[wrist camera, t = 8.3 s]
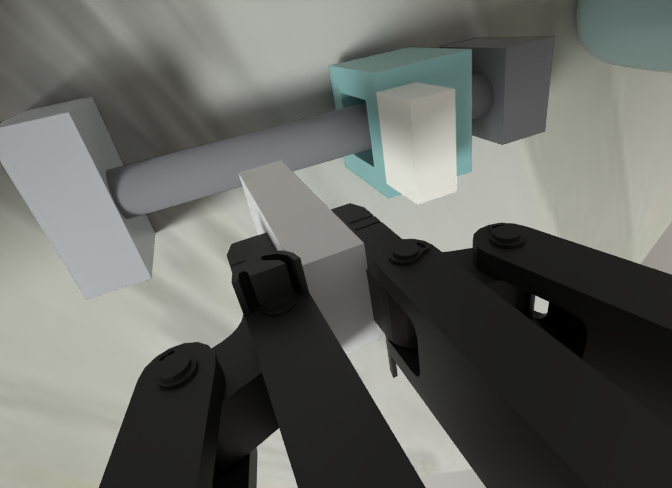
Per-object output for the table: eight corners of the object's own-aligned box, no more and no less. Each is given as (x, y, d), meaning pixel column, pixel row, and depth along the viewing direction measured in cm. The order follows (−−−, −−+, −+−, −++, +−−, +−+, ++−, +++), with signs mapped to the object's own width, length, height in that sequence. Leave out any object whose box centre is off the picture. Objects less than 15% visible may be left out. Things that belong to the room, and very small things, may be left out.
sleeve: (345, 167, 25) (418, 220, 18) (328, 65, 22) (408, 78, 15) (414, 146, 26) (511, 188, 19) (407, 47, 23) (519, 50, 16)
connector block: (442, 125, 28) (502, 144, 23) (439, 46, 25) (506, 48, 20) (478, 115, 28) (545, 131, 23) (479, 37, 26) (554, 36, 21)
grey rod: (111, 215, 20) (104, 236, 18) (87, 166, 19) (76, 183, 17) (466, 114, 25) (494, 121, 23) (466, 69, 23) (496, 72, 21)
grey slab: (102, 249, 23) (86, 299, 19) (26, 110, 19) (-19, 131, 15) (155, 233, 24) (151, 278, 19) (91, 95, 20) (68, 112, 15)
